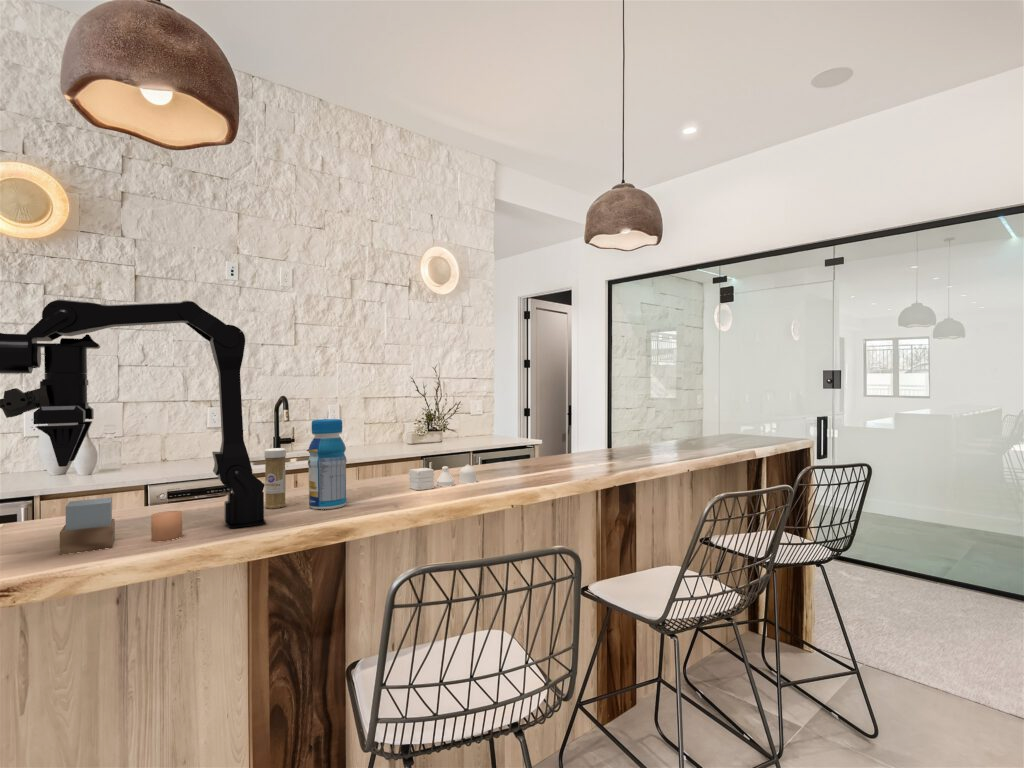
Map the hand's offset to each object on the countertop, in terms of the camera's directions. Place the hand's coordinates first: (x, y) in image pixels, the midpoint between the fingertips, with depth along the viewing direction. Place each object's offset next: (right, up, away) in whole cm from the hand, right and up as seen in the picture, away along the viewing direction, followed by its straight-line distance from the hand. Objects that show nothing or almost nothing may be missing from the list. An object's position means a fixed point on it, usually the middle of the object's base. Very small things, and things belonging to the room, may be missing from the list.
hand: (66, 463), depth 94 cm
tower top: (+4, -11, +1) cm, 11 cm away
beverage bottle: (+35, -15, +31) cm, 49 cm away
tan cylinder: (+14, -15, +5) cm, 21 cm away
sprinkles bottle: (+23, -15, +31) cm, 41 cm away
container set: (+59, -15, +57) cm, 83 cm away
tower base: (+4, -15, 0) cm, 15 cm away
